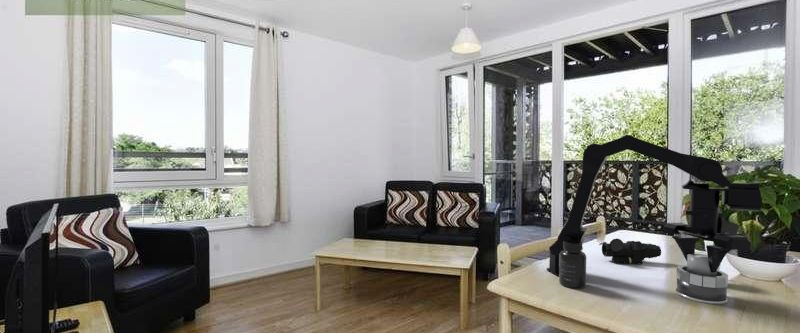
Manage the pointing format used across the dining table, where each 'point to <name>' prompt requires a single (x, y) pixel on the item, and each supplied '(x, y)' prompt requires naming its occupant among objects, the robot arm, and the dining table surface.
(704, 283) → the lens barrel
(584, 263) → the supplement bottle
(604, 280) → the dining table surface
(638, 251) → the night vision scope
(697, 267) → the grey squat block
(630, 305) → the dining table surface
